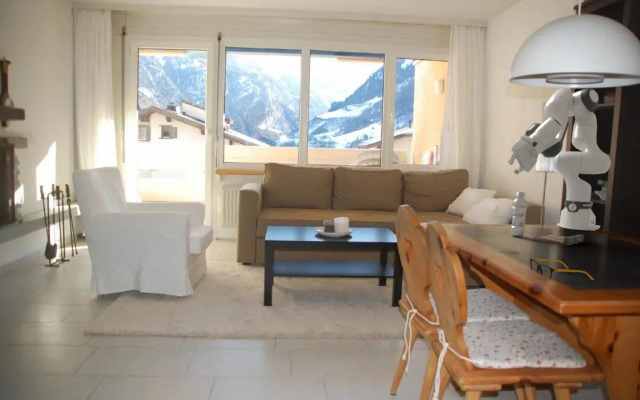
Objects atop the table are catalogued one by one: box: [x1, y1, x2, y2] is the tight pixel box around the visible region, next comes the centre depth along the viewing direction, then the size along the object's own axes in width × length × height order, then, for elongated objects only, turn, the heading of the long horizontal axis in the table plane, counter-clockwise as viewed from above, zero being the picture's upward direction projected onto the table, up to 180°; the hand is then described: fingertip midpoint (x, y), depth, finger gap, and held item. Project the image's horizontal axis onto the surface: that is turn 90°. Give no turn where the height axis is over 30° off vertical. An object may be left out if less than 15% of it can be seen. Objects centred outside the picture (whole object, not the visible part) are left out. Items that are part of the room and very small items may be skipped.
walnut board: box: [534, 233, 585, 246], centre depth 223 cm, size 16×14×3 cm
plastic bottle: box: [509, 191, 528, 238], centre depth 230 cm, size 6×7×20 cm
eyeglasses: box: [529, 258, 595, 281], centre depth 163 cm, size 14×14×4 cm
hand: (512, 168), depth 240 cm, fingers open, 8 cm apart
